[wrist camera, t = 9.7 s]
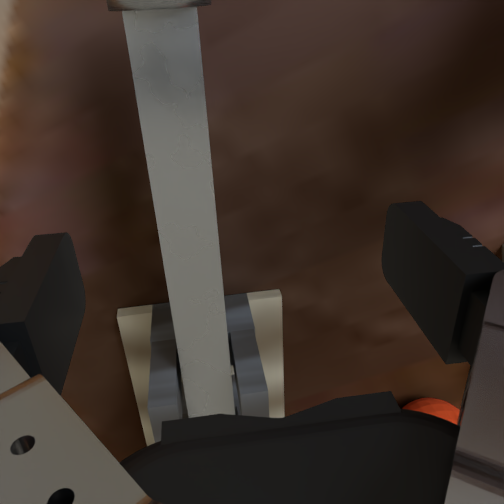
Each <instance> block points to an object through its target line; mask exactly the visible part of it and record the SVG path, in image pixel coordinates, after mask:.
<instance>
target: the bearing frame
mask: <svg viewBox="0 0 504 504" xmlns="http://www.w3.org/2000/svg"><path fill="white" fill-rule="evenodd" d="M224 302H225V312H226V323H227V333H228V344H229V355H230V365H231V376H232V386H233V397H234V408H235V415H243V416H256V417H270V418H283V417H284V373H283V327H282V295H281V293H280V290H279V289H275V290H267V291H259V292H251V293H243V294H235V295H226V296H224ZM117 321H118V325H119V329H120V333H121V338H122V342H123V346H124V350H125V355H126V359H127V363H128V367H129V372H130V376H131V380H132V384H133V389H134V393H135V397H136V401H137V406H138V410H139V414H140V418H141V423H142V427H143V431H144V435H145V440H146V444H147V446H149V445H151V444H153V443H156V442H159V441H161V428H162V421H169V420H177V419H184V418H189V417H188V411H187V405H186V398H185V392H184V386H183V380H182V374H181V368H180V362H179V356H178V350H177V343H176V337H175V331H174V325H173V319H172V313H171V307H170V302H169V303H161V304H153V305H145V306H137V307H128V308H120V309H118V312H117Z"/></svg>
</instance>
